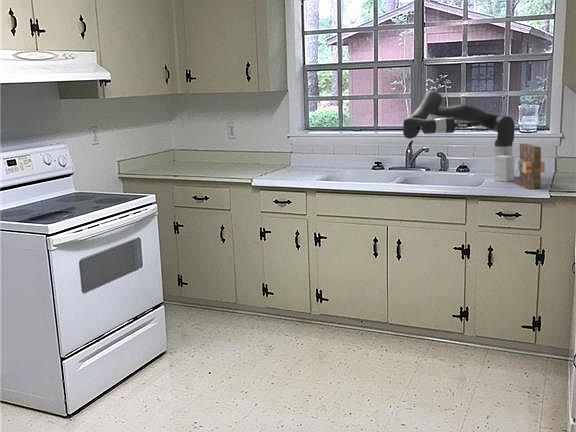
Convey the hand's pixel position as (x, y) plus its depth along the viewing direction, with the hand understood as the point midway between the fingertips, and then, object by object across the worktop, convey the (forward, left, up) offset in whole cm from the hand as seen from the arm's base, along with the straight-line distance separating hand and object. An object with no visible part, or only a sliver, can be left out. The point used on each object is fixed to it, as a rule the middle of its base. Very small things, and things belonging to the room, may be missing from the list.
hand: (479, 123), depth 323 cm
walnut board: (+2, +23, -32) cm, 39 cm away
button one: (-3, +24, -24) cm, 34 cm away
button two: (+8, +24, -25) cm, 35 cm away
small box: (-19, +18, -32) cm, 41 cm away
